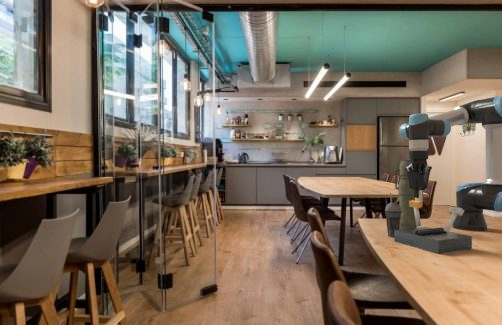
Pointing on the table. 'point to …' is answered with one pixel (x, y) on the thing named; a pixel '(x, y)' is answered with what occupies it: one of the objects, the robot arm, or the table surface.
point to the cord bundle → (429, 231)
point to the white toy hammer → (453, 217)
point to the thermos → (405, 197)
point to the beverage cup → (392, 217)
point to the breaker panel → (433, 240)
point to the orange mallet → (416, 210)
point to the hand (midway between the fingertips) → (418, 205)
